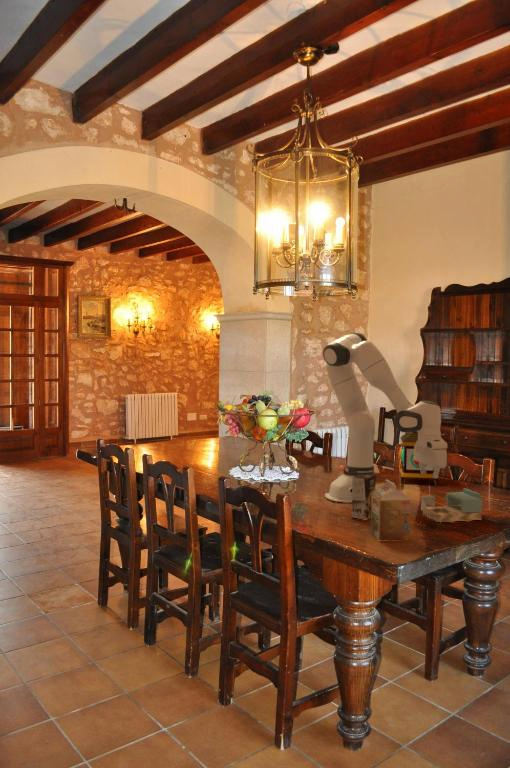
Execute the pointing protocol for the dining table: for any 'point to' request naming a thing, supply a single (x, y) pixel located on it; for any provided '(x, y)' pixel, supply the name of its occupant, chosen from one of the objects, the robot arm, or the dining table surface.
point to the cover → (465, 500)
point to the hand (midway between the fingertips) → (429, 475)
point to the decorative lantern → (412, 460)
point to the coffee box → (362, 495)
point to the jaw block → (427, 501)
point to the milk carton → (390, 513)
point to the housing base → (450, 514)
